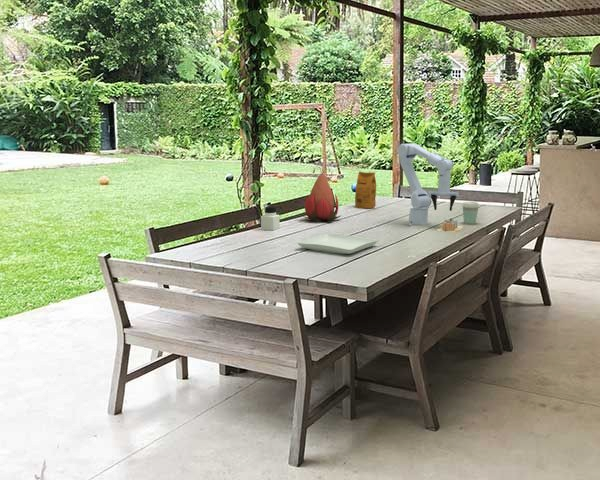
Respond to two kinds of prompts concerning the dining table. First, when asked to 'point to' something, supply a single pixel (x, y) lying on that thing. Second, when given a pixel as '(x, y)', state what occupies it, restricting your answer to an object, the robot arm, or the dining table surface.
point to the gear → (452, 221)
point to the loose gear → (449, 226)
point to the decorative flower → (321, 201)
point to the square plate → (337, 243)
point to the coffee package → (365, 191)
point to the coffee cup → (470, 212)
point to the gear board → (450, 231)
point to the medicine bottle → (270, 219)
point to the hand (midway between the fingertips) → (443, 210)
